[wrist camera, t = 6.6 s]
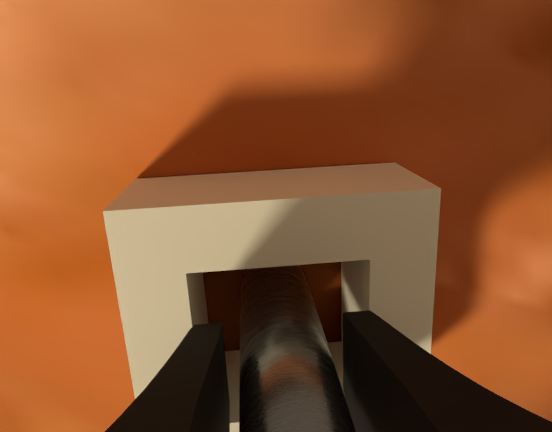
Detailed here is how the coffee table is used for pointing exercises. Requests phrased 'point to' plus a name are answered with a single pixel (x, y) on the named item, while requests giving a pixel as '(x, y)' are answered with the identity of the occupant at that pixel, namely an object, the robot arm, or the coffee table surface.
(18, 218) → the coffee table surface
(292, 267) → the metal peg
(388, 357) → the robot arm
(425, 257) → the block with square hole
